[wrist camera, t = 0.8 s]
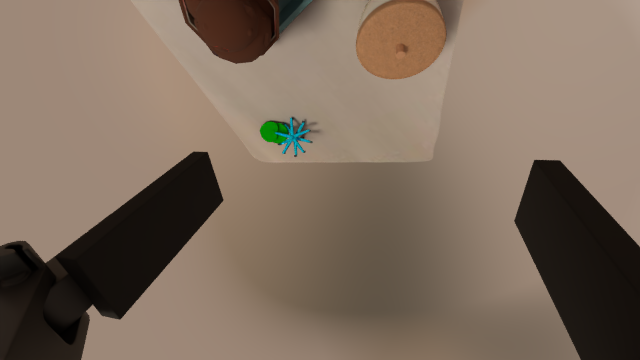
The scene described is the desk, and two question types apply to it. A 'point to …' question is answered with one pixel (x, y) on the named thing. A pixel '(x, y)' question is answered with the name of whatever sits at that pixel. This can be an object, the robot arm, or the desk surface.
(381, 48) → the trinket box
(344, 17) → the desk surface
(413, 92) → the desk surface
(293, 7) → the divided tray
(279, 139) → the stick construction toy
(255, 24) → the ice cream bowl
